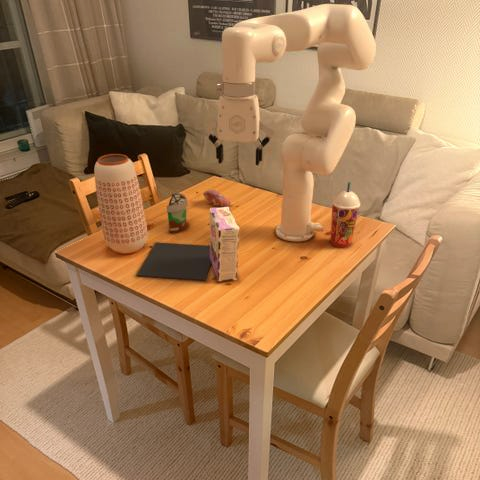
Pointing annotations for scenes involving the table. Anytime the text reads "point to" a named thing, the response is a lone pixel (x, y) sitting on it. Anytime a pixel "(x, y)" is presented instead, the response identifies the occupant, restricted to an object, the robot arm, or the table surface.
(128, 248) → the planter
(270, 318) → the table surface
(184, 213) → the food container
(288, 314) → the table surface
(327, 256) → the table surface
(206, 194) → the sweet potato
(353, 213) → the smoothie
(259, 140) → the robot arm
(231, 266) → the candy box
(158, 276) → the placemat
